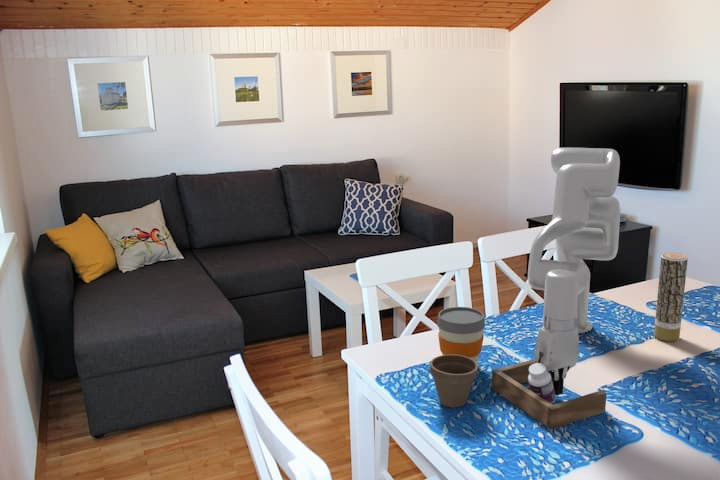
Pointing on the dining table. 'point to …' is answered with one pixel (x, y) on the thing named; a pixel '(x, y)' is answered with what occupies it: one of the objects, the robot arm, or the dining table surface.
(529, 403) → the box
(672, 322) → the brown upright cylinder piece
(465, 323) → the reusable coffee cup
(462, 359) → the flower pot
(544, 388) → the pill bottle
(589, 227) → the robot arm
